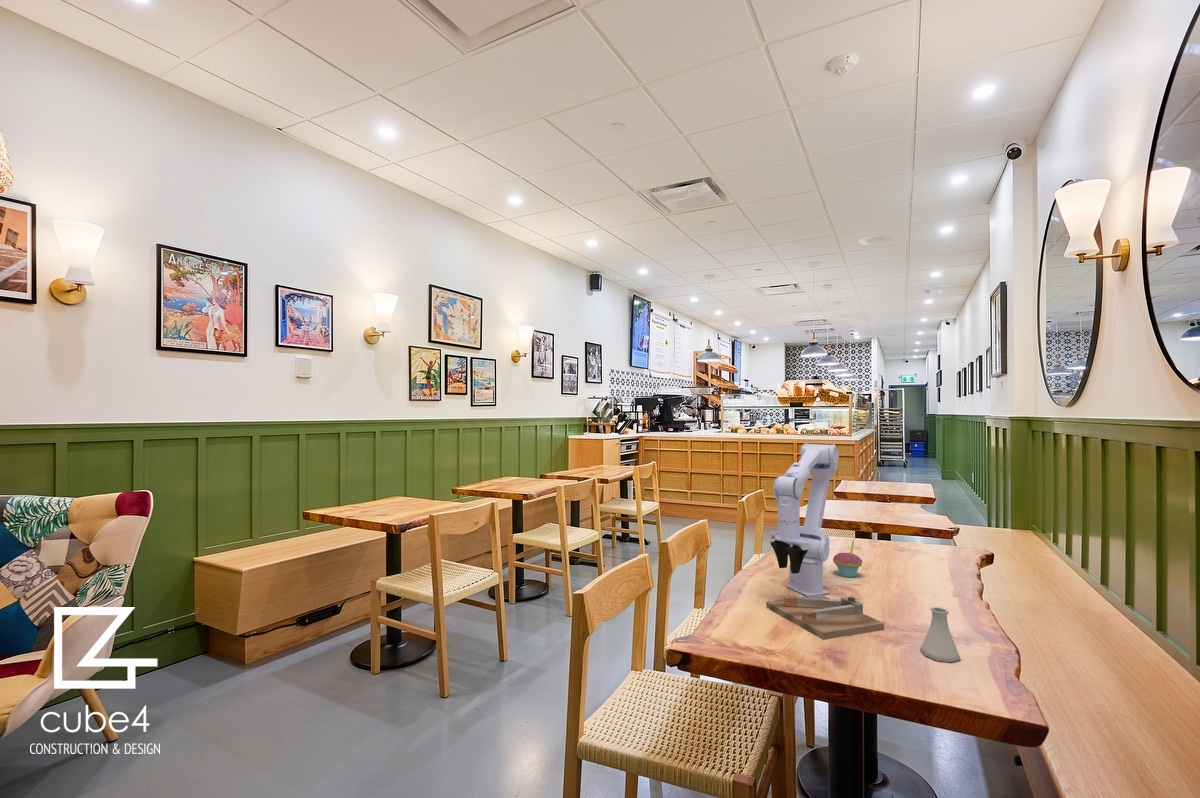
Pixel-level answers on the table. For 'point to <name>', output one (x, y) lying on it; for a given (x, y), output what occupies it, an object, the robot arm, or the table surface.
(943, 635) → the flask
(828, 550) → the robot arm
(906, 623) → the table surface
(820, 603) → the tong arm
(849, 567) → the cupcake
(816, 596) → the tongs board
